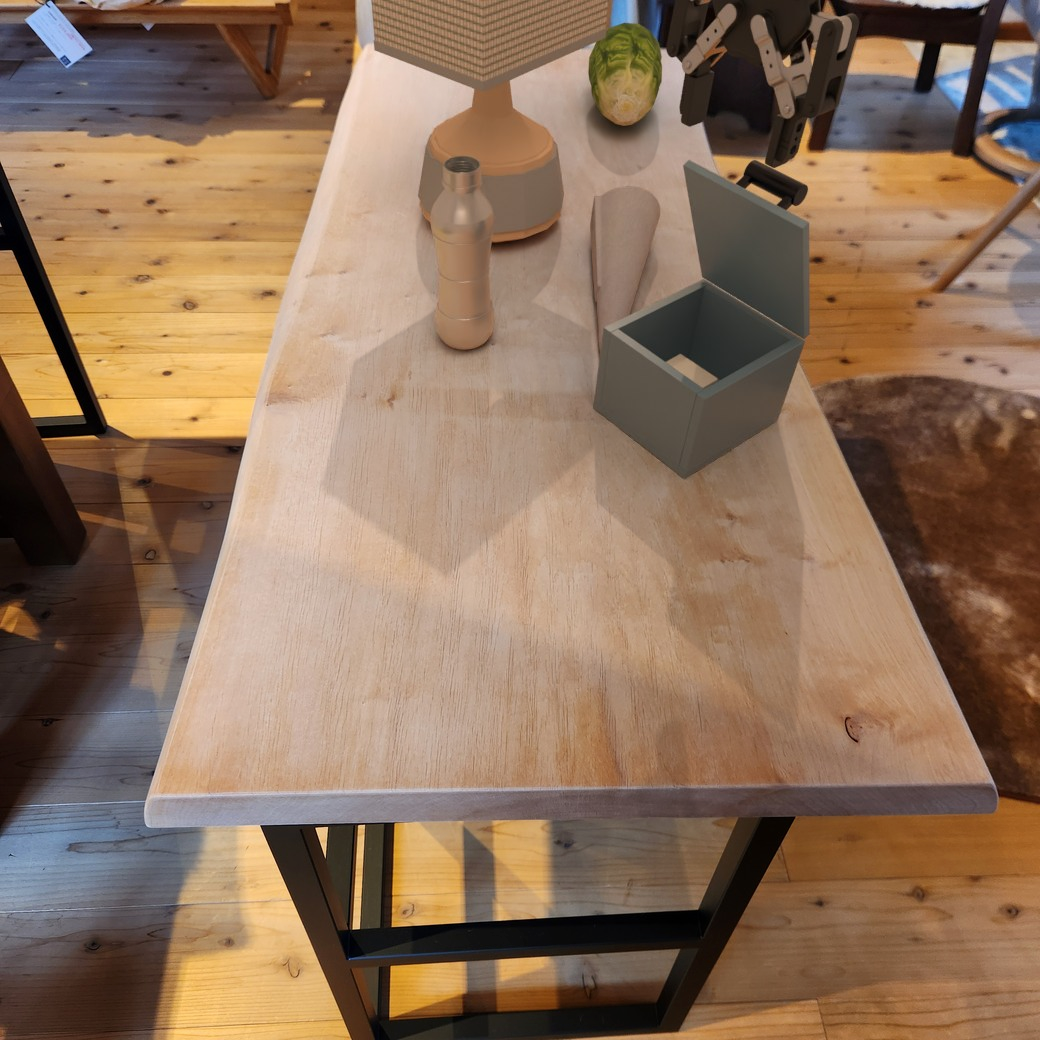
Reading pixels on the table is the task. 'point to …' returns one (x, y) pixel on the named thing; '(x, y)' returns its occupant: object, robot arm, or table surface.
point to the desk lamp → (492, 93)
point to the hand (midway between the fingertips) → (733, 142)
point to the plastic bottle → (463, 255)
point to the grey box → (677, 399)
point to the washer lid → (753, 241)
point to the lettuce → (625, 73)
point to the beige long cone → (620, 248)
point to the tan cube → (692, 371)
